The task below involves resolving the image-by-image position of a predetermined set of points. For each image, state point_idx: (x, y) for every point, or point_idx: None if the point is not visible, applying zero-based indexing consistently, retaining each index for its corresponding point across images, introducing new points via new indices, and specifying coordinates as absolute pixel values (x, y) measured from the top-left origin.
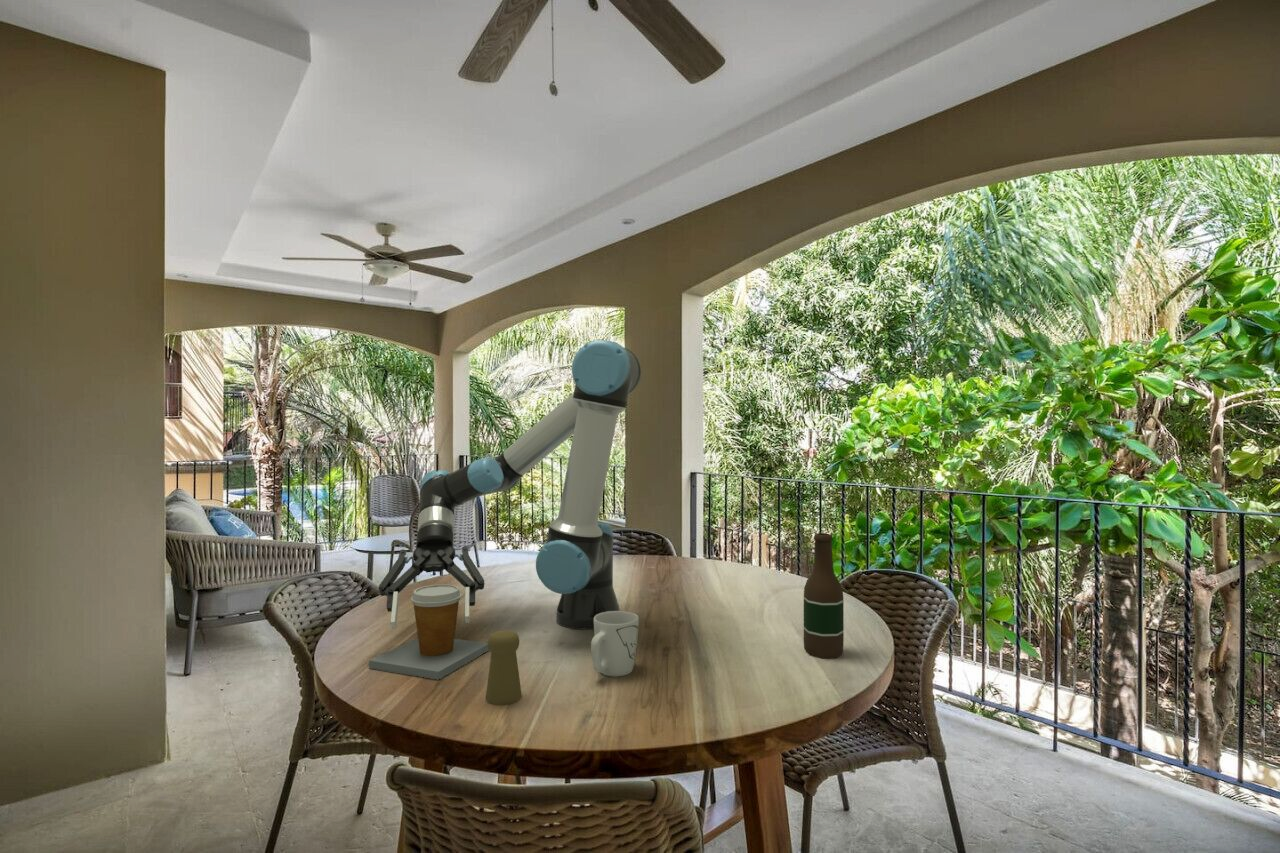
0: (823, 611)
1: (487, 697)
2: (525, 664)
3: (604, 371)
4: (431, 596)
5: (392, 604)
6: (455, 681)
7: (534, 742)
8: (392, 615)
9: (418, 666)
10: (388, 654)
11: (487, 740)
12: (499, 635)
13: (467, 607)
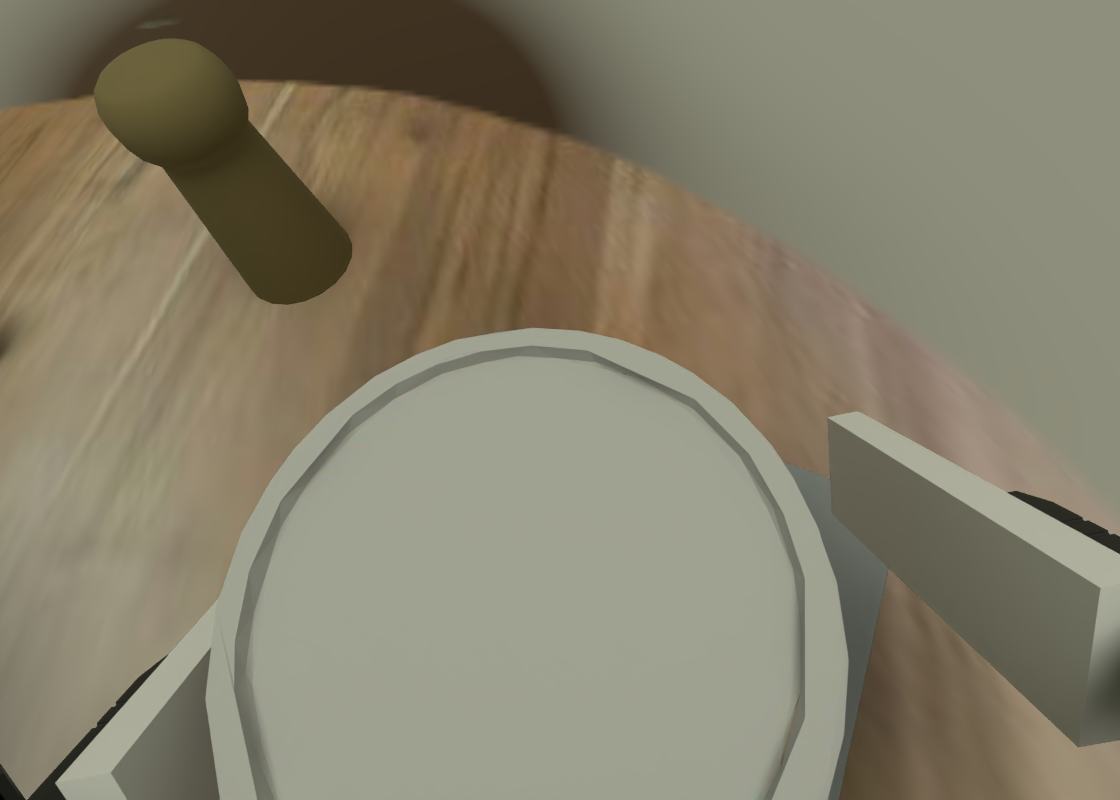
0: None
1: (341, 228)
2: (176, 520)
3: None
4: (520, 333)
5: (979, 478)
6: None
7: (265, 95)
8: (883, 431)
9: None
10: (840, 591)
11: (355, 95)
12: (167, 41)
13: None
